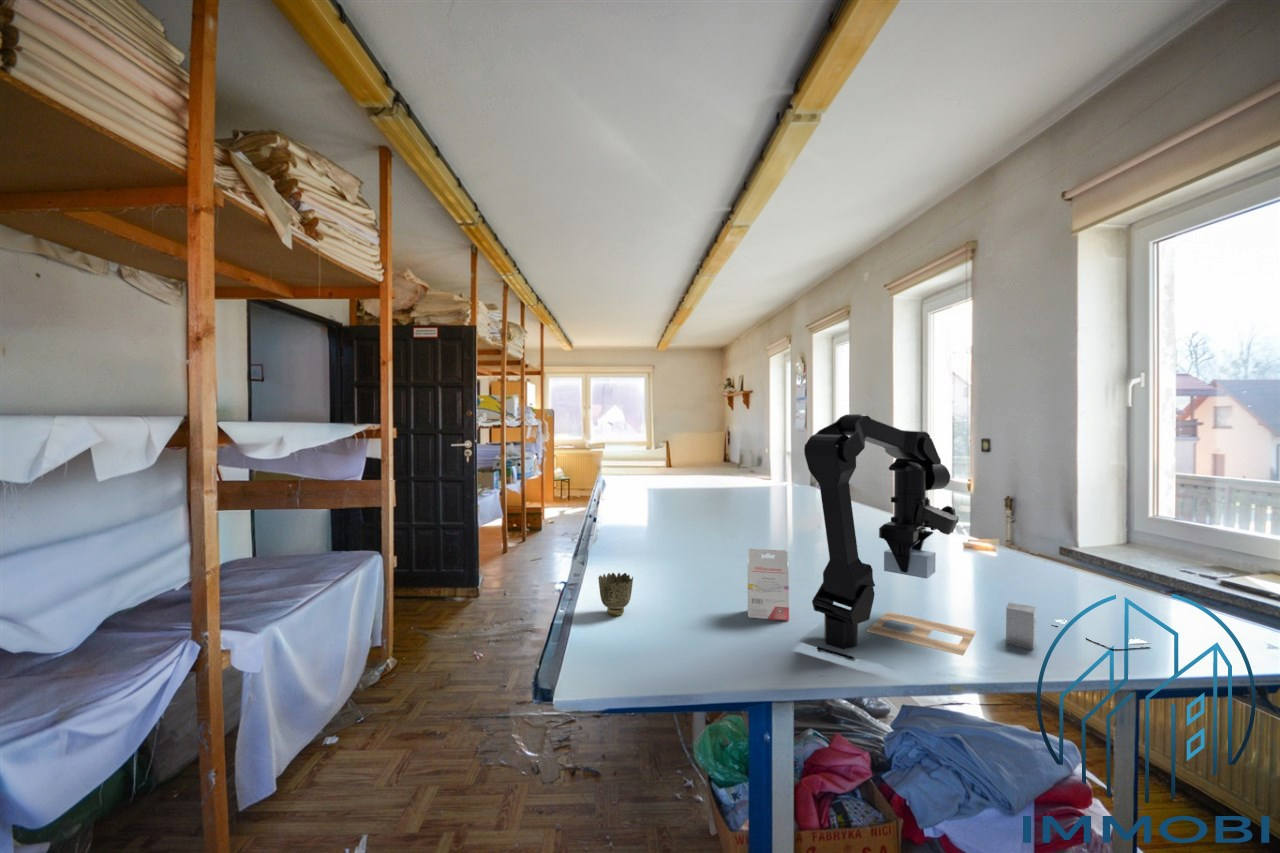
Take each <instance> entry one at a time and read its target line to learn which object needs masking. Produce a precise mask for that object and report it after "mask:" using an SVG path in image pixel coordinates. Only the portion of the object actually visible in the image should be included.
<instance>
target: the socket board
mask: <svg viewBox="0 0 1280 853" xmlns="http://www.w3.org/2000/svg"><path fill="white" fill-rule="evenodd" d="M889 620H890V621H893V622H899V623H904V624H907V625H911V626H915V627H914V628H913V629H912V630H911V631H910V633H909V632H906V631H902V630H899V629H898V630H897V629H893V628H889V627H885V626H883V625H885V624H886V623H887V622H888V621H889ZM933 630H934V631H937V632H943V633H947V634H952V635H956V636H959V637H962V638H961V640H960V642H959V644H957V643H956V644H955V643H951V642H948V641H943V640H939V639H935V638H931V637H928V636H929V635H930V634H931V632H932V631H933ZM866 632H867V633H871V634H875V635H880V636H883V637H887V638H890V639H895V640H898V641H899V640H900V641H903V642H907V643H912V644H915V645H919V646H922V647H927V648H932V649H935V650H939V651H943V652H947V653H951V654H956V655H960V656H964V655H965V653H966V651H967V649H968V647H969V645H970V644H971V642H972V640H973V639H974V636H975V635H976V634H977V631H975V630H972V629H967V628H963V627H958V626H955V625H954V626H953V625H949V624H945V623H940V622H936V621H931V620H926V619H922V618H918V617H913V616H908V615H905V614H900V613H896V612H892V611H891V612H890V611H887V612H885V614H883V615H882V616H881V617H880V618H879V619H878V620H877V621H876V622H874V623H873V624H872V625H871V626H870V627H869V628H868V629H867V630H866Z"/></svg>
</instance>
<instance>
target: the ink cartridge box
mask: <svg viewBox="0 0 1280 853" xmlns="http://www.w3.org/2000/svg"><path fill="white" fill-rule="evenodd" d="M767 554H769V555H771V556H774V557H762V555H767ZM788 554H789V553H788V551H787V550H786V549H771V548H770V549H769V548H753V547H751V548H749V549H748V561H747V617H748V618H749V619H750V618H752V619H762V620H763V619H764V620H774V621H786V622H787V621H789V619H790V605H789V604H790V597H789V596H790V589H789V588H790V585H789V584H790V582H789V581H790V579H789V578H790V573H789V572H790V570H789V568H790V566H789V562H788V561H789V560H788V558H789V555H788Z"/></svg>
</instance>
